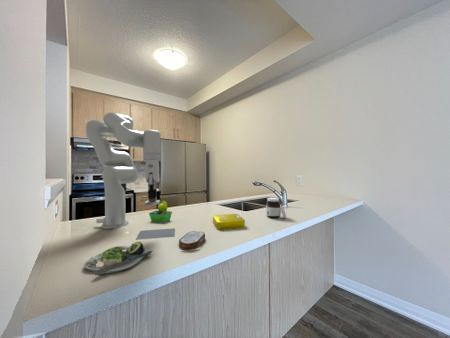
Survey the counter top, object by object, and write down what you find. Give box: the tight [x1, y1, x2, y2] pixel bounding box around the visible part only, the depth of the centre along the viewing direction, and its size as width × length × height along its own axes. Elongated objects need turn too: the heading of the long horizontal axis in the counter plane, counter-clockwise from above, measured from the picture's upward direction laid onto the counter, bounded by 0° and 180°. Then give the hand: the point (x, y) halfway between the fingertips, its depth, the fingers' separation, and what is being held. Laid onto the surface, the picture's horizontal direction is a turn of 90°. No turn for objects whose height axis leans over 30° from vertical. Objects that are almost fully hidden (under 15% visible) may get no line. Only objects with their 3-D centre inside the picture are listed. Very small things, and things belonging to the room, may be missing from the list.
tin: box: [178, 230, 206, 251], centre depth 82 cm, size 15×3×8 cm
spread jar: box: [265, 197, 287, 219], centre depth 123 cm, size 12×11×12 cm
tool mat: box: [135, 227, 176, 241], centre depth 91 cm, size 16×12×1 cm
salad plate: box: [83, 241, 153, 276], centre depth 65 cm, size 19×18×5 cm
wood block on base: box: [144, 183, 161, 206], centre depth 90 cm, size 6×5×9 cm
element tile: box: [212, 213, 246, 231], centre depth 107 cm, size 15×15×5 cm
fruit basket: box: [148, 200, 173, 223], centre depth 114 cm, size 11×9×11 cm
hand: (152, 197), depth 90 cm, fingers closed on wood block on base, 2 cm apart
